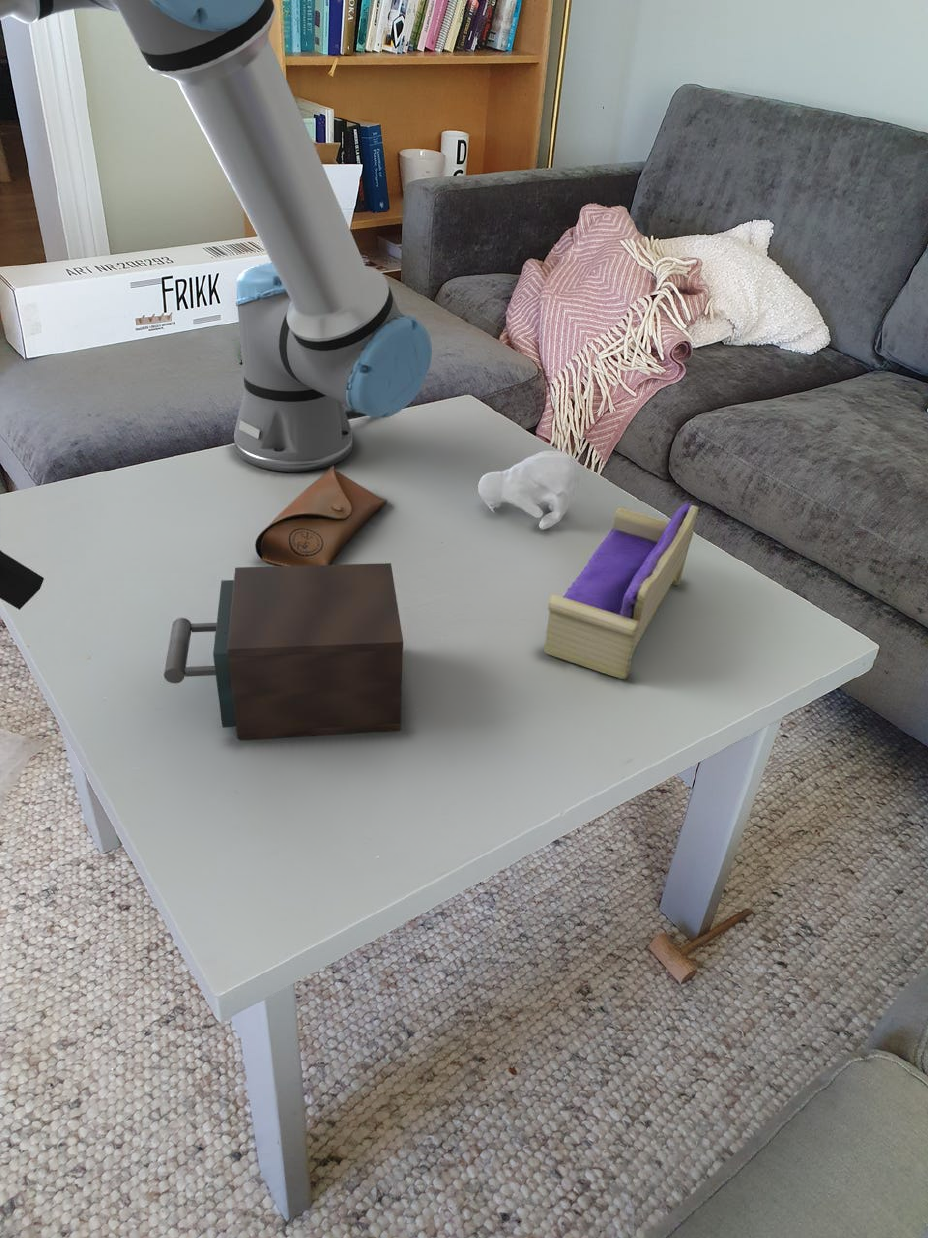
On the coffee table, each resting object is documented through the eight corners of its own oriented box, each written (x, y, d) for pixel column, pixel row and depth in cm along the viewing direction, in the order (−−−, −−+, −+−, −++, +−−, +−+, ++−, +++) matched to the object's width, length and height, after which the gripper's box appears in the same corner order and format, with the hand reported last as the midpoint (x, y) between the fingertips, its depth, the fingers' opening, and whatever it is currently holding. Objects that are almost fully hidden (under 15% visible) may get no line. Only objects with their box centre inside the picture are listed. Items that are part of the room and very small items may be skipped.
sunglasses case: (327, 573, 96) (295, 519, 93) (277, 589, 99) (245, 537, 97) (391, 498, 110) (365, 449, 107) (345, 514, 113) (318, 467, 111)
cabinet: (237, 740, 76) (227, 649, 70) (243, 653, 85) (234, 567, 80) (400, 730, 78) (403, 642, 73) (389, 647, 87) (391, 562, 82)
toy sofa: (608, 557, 103) (623, 475, 97) (683, 579, 100) (703, 497, 94) (537, 657, 88) (550, 567, 82) (624, 687, 85) (644, 596, 79)
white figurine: (573, 468, 101) (469, 456, 104) (570, 535, 106) (471, 522, 109) (585, 445, 106) (486, 434, 109) (581, 511, 111) (487, 499, 114)
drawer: (168, 731, 75) (155, 656, 71) (180, 652, 83) (169, 581, 79) (373, 719, 78) (373, 647, 73) (365, 644, 86) (365, 575, 81)
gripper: (-277, 391, 66) (23, 577, 78) (-383, 477, 55) (-18, 675, 68) (-224, 318, 63) (76, 521, 76) (-325, 393, 53) (42, 614, 65)
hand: (31, 593), depth 72 cm, fingers closed
